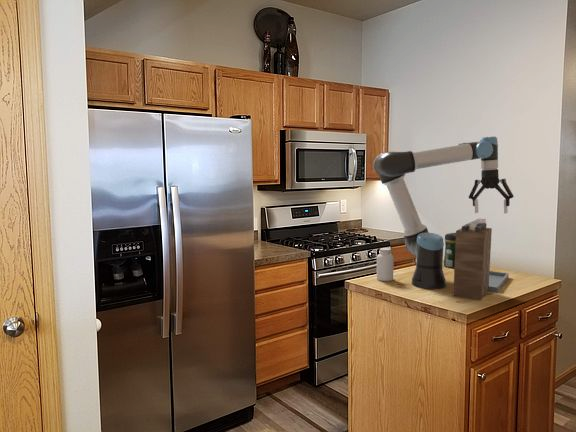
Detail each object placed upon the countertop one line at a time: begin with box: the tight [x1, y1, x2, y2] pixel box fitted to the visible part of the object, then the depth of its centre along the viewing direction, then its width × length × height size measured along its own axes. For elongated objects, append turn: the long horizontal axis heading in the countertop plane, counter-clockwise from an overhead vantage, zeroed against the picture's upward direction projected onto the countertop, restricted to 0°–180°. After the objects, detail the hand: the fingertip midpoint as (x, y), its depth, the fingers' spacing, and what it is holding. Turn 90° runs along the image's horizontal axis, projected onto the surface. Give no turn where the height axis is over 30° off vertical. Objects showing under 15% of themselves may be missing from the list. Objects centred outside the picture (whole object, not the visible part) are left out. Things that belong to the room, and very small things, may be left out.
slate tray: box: [488, 270, 509, 293], centre depth 217 cm, size 31×18×2 cm, turn 146°
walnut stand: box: [452, 222, 493, 301], centre depth 196 cm, size 16×11×30 cm
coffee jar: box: [443, 232, 456, 269], centre depth 248 cm, size 10×8×19 cm
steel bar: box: [468, 218, 487, 231], centre depth 199 cm, size 20×3×3 cm, turn 146°
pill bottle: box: [376, 247, 395, 282], centre depth 221 cm, size 8×8×15 cm
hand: (491, 213), depth 223 cm, fingers open, 13 cm apart
